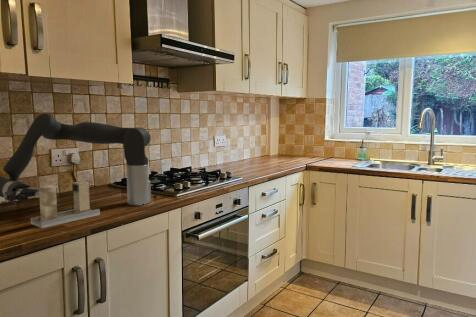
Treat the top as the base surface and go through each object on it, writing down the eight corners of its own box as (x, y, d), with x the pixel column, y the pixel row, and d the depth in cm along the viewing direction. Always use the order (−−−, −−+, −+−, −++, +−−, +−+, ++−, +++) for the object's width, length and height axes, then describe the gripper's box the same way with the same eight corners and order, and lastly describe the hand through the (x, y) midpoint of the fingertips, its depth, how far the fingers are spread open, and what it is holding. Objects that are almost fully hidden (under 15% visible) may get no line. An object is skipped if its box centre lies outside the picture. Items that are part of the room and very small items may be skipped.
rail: (88, 211, 148) (87, 179, 147) (100, 214, 143) (98, 181, 142) (30, 224, 131) (28, 187, 129) (41, 228, 126) (39, 190, 125)
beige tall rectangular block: (53, 217, 135) (51, 185, 134) (59, 219, 133) (57, 186, 131) (40, 220, 132) (38, 187, 130) (46, 222, 129) (44, 188, 128)
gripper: (-4, 184, 140) (14, 189, 130) (35, 179, 151) (55, 183, 141) (-3, 203, 141) (16, 210, 131) (36, 197, 152) (56, 203, 142)
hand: (36, 196), depth 136 cm, fingers open, 8 cm apart
